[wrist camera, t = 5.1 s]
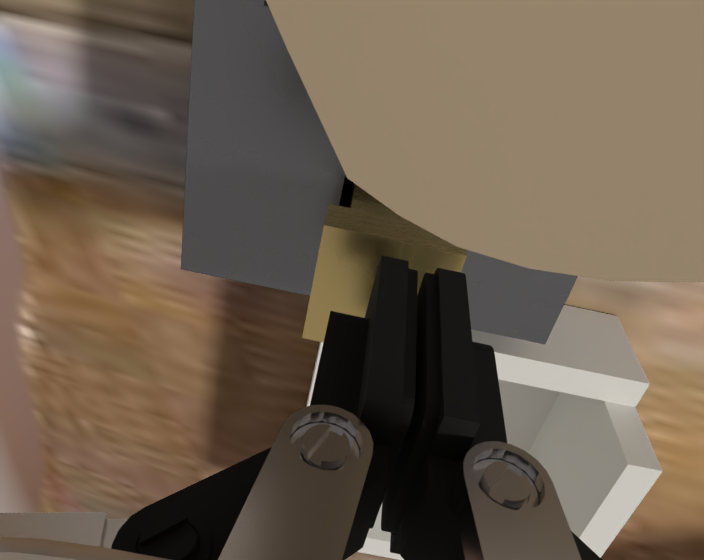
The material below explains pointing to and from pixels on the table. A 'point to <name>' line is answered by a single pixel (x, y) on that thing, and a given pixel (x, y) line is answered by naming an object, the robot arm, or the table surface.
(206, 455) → the table surface
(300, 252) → the socket block
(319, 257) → the brass key
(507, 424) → the white square bin
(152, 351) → the table surface
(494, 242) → the handle
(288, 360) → the table surface
